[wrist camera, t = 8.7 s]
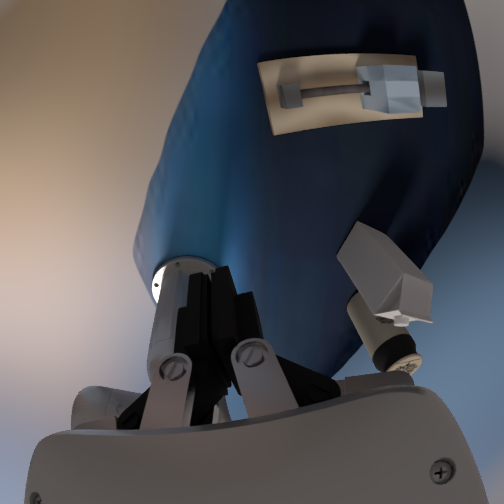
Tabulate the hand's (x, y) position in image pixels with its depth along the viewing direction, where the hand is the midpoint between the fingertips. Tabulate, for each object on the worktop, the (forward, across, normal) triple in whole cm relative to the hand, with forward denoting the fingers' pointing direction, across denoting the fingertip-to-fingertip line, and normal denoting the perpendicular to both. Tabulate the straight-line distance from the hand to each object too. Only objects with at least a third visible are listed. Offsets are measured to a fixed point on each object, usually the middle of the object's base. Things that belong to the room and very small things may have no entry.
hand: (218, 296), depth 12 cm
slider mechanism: (+29, -20, -6) cm, 36 cm away
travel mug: (+29, -21, +34) cm, 50 cm away
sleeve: (+27, -23, -6) cm, 36 cm away
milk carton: (+29, -20, +20) cm, 41 cm away
